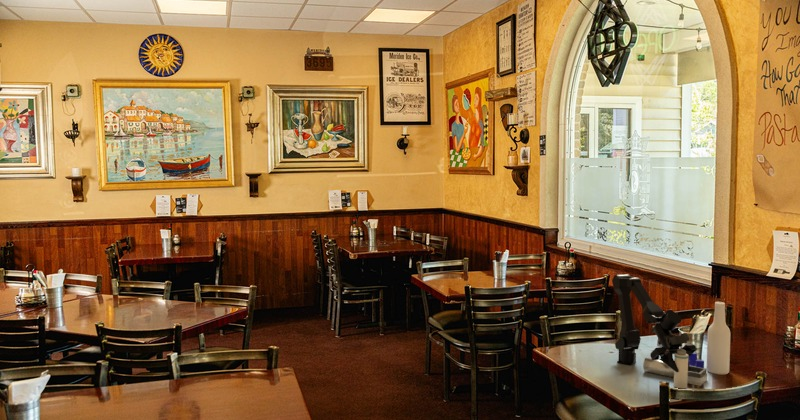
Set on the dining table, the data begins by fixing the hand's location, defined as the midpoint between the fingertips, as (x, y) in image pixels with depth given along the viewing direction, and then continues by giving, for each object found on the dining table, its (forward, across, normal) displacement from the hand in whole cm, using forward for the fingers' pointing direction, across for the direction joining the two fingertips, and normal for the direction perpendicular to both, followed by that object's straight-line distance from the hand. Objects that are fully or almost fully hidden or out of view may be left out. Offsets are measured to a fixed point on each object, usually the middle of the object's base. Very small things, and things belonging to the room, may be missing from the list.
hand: (683, 371), depth 262 cm
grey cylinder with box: (-4, +6, +15) cm, 17 cm away
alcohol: (-4, +29, +15) cm, 33 cm away
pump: (+4, 0, +6) cm, 7 cm away
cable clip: (-7, +21, +18) cm, 29 cm away
